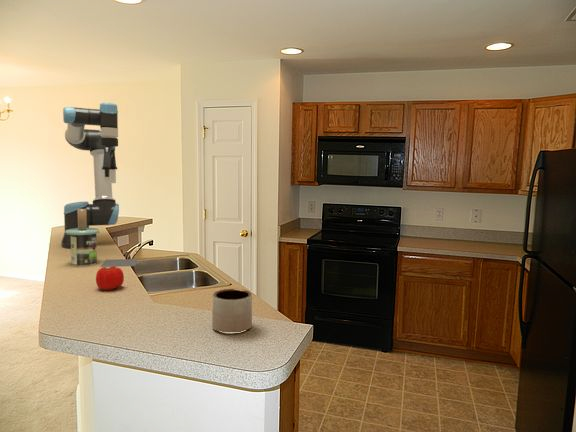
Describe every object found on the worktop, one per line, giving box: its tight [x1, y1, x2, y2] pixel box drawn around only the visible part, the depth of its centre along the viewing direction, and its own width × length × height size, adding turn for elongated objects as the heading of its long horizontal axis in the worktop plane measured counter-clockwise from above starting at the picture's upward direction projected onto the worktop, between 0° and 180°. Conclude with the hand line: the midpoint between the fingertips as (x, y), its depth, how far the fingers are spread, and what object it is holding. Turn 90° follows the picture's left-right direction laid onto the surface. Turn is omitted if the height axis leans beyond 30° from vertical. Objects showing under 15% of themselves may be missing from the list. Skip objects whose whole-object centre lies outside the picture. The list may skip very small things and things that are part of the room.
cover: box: [64, 209, 100, 235], centre depth 180 cm, size 13×13×10 cm
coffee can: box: [70, 233, 98, 267], centre depth 182 cm, size 10×10×14 cm
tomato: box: [95, 266, 125, 291], centre depth 148 cm, size 9×9×8 cm
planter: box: [211, 288, 253, 332], centre depth 115 cm, size 11×11×10 cm
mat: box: [99, 258, 139, 268], centre depth 185 cm, size 14×14×1 cm
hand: (110, 183), depth 195 cm, fingers open, 13 cm apart
